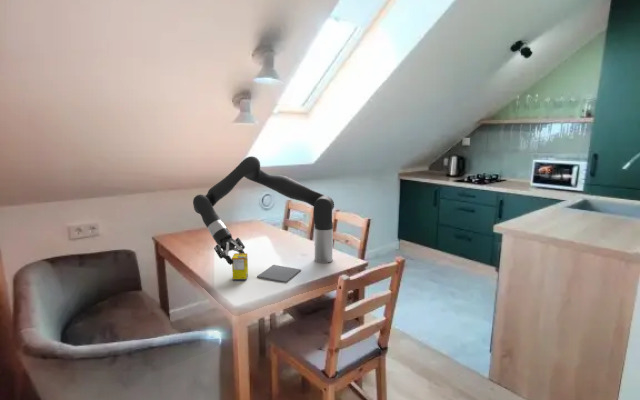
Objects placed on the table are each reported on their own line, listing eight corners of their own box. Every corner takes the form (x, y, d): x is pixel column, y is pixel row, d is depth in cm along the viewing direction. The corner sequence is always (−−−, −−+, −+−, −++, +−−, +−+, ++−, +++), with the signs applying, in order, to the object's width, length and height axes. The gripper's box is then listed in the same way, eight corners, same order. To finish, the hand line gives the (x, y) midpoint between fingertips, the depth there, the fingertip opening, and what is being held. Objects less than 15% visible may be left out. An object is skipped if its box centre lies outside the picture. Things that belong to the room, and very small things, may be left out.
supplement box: (248, 275, 170) (247, 253, 168) (246, 280, 164) (245, 257, 162) (235, 275, 170) (234, 253, 168) (232, 281, 164) (231, 257, 162)
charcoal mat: (273, 266, 181) (273, 264, 181) (301, 270, 176) (301, 269, 176) (257, 277, 168) (257, 276, 168) (286, 283, 162) (286, 281, 162)
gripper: (227, 233, 177) (245, 260, 173) (203, 240, 165) (222, 270, 162) (234, 224, 173) (253, 252, 169) (211, 231, 162) (230, 261, 158)
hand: (238, 261), depth 166 cm, fingers closed on supplement box, 7 cm apart
